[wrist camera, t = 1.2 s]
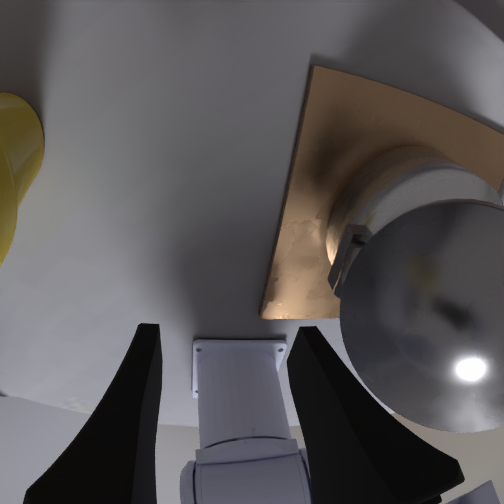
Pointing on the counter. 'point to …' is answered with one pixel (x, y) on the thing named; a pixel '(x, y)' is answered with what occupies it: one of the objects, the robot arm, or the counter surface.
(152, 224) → the counter surface
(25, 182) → the plant pot
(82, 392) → the counter surface
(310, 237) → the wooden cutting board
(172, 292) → the counter surface
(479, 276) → the cooker lid
